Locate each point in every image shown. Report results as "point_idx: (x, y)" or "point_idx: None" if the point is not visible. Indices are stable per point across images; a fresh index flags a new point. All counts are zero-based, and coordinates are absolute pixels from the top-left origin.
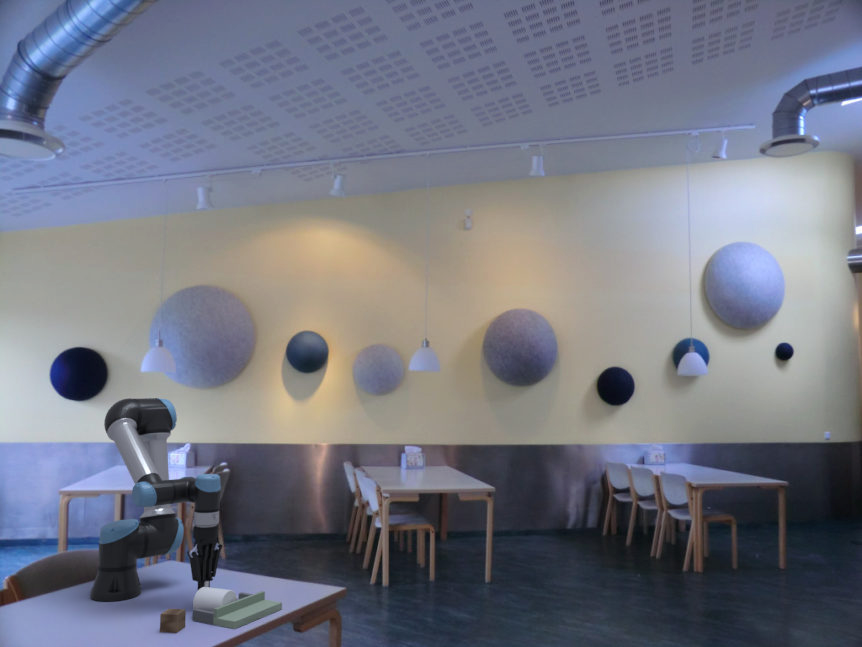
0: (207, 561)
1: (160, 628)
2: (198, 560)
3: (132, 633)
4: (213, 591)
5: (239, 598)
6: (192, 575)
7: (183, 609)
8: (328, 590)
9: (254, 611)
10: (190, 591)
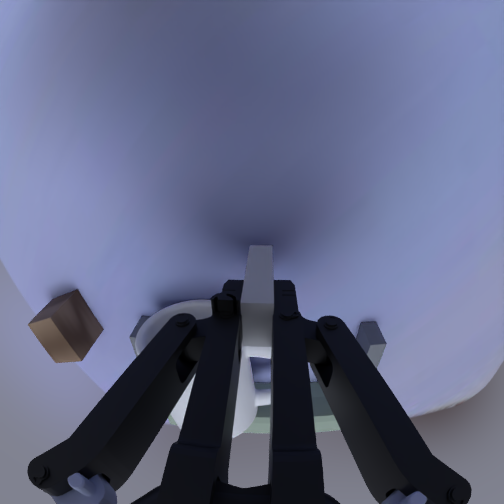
0: (270, 443)
1: (48, 304)
2: (135, 463)
3: (16, 249)
4: (176, 412)
5: (364, 336)
6: (155, 340)
7: (76, 356)
8: (473, 388)
9: (251, 427)
10: (417, 48)
